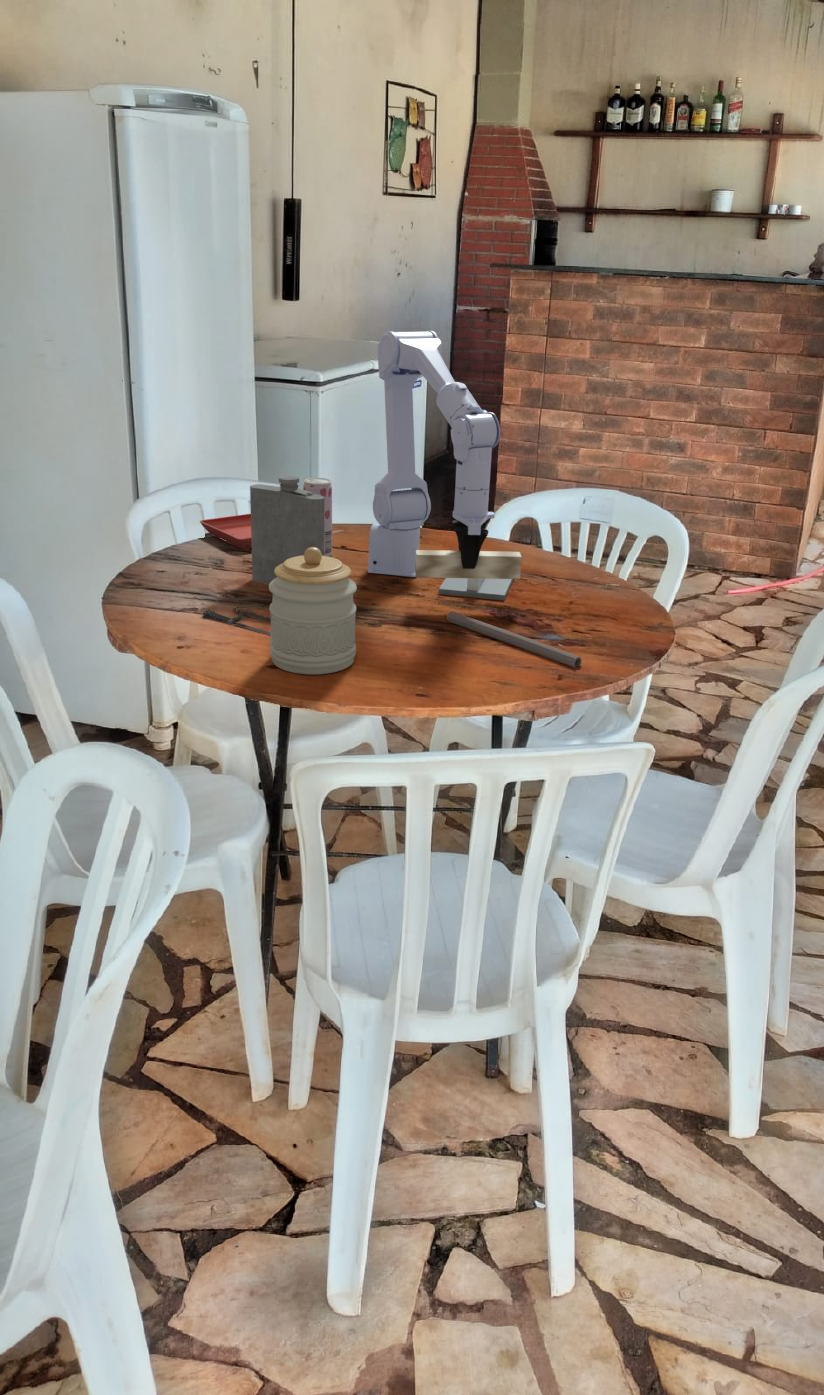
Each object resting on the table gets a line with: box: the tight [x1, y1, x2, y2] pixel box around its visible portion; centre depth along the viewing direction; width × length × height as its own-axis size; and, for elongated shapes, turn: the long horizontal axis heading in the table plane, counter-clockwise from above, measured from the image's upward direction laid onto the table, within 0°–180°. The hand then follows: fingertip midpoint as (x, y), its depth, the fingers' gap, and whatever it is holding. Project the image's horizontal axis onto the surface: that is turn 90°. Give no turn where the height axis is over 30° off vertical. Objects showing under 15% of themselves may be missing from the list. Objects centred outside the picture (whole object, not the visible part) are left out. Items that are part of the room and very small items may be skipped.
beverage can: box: [302, 477, 333, 557], centre depth 215 cm, size 6×6×15 cm
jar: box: [268, 547, 358, 675], centre depth 162 cm, size 13×13×18 cm
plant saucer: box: [199, 513, 252, 550], centre depth 229 cm, size 18×18×3 cm
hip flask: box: [249, 475, 325, 585], centre depth 195 cm, size 16×4×20 cm, turn 57°
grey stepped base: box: [438, 578, 515, 601], centre depth 202 cm, size 12×14×4 cm
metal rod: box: [446, 610, 583, 668], centre depth 176 cm, size 2×27×2 cm, turn 44°
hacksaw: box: [201, 606, 271, 637], centre depth 180 cm, size 24×10×1 cm, turn 57°
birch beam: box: [415, 549, 523, 580], centre depth 188 cm, size 18×3×4 cm, turn 93°
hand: (467, 565), depth 188 cm, fingers closed on birch beam, 3 cm apart
